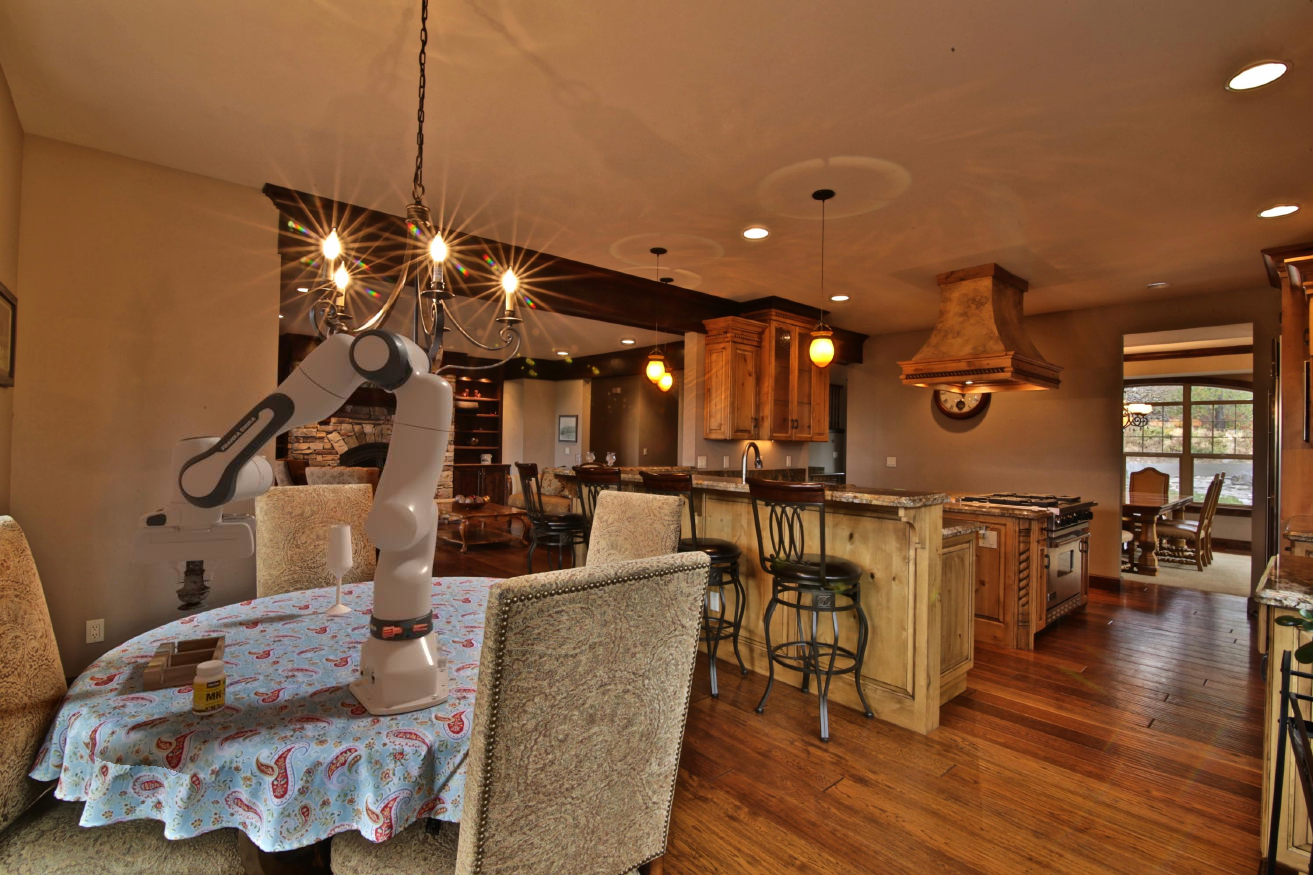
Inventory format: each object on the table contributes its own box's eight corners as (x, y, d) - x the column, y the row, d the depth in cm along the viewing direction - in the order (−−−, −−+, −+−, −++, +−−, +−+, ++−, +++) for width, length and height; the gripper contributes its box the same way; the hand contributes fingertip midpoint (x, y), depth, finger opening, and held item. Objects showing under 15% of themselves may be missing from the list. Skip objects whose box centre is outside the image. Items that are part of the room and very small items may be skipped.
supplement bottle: (205, 718, 106) (207, 670, 106) (185, 713, 107) (187, 667, 107) (231, 706, 111) (232, 660, 111) (212, 702, 112) (213, 657, 112)
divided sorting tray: (216, 679, 122) (216, 660, 122) (142, 691, 116) (143, 670, 116) (224, 651, 137) (225, 634, 137) (160, 659, 131) (160, 641, 131)
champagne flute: (350, 606, 174) (352, 523, 174) (352, 612, 168) (355, 527, 168) (323, 609, 170) (326, 524, 170) (325, 615, 165) (328, 528, 165)
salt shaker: (169, 607, 122) (171, 549, 122) (202, 601, 128) (204, 545, 128) (184, 612, 120) (186, 552, 120) (217, 605, 125) (218, 548, 125)
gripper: (257, 511, 132) (255, 574, 132) (136, 514, 121) (133, 583, 121) (256, 514, 126) (254, 580, 126) (128, 519, 116) (126, 590, 116)
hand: (194, 581), depth 124 cm, fingers closed on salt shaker, 3 cm apart
